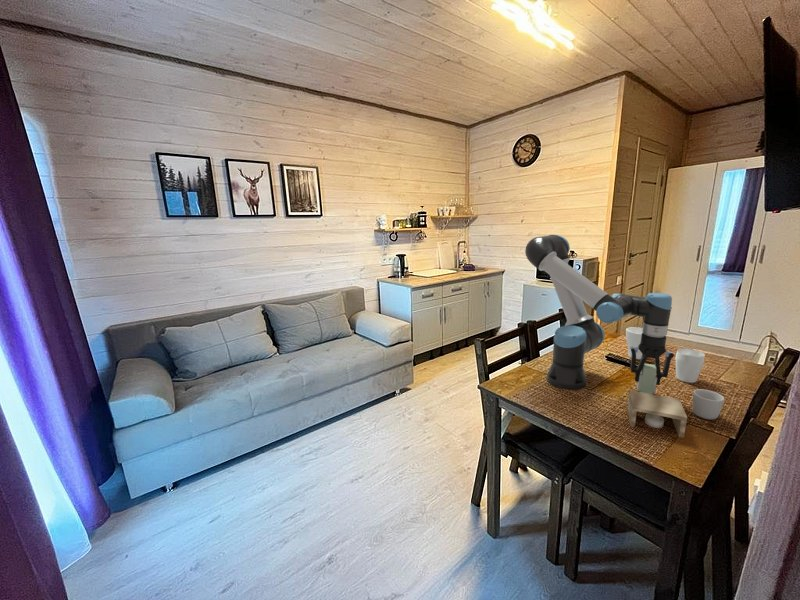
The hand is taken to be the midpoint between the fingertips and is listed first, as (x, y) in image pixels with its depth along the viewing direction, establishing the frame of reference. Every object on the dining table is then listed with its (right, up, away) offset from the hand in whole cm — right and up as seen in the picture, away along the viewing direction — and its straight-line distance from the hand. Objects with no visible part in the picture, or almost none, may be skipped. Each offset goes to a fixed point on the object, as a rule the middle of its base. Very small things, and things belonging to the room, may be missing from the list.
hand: (645, 390), depth 132 cm
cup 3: (+10, -5, -14) cm, 18 cm away
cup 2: (+24, +2, +9) cm, 26 cm away
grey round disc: (-11, -7, -18) cm, 22 cm away
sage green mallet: (-4, -3, -7) cm, 9 cm away
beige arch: (-10, -6, -18) cm, 21 cm away
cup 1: (+19, +7, +32) cm, 38 cm away
